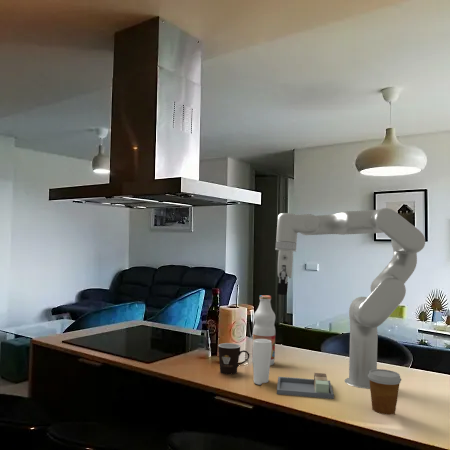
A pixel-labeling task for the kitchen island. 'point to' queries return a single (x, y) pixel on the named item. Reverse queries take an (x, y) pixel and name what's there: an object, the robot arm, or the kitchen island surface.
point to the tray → (301, 388)
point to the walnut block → (318, 376)
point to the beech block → (320, 378)
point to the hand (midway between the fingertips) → (282, 293)
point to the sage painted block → (322, 386)
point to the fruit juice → (265, 324)
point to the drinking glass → (261, 360)
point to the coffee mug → (229, 357)
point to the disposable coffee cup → (384, 390)
